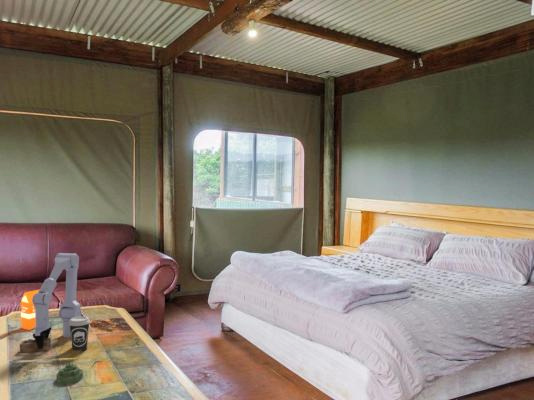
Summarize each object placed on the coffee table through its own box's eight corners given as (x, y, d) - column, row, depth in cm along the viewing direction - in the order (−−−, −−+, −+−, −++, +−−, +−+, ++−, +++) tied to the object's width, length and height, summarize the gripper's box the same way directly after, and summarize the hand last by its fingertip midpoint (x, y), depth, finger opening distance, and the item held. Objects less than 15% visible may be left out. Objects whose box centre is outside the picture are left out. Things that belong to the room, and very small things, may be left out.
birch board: (58, 341, 237) (58, 339, 237) (46, 356, 217) (46, 354, 217) (31, 343, 235) (31, 341, 235) (16, 357, 215) (16, 355, 215)
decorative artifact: (56, 376, 196) (56, 386, 187) (56, 359, 196) (56, 368, 186) (82, 372, 200) (83, 381, 191) (82, 356, 199) (83, 364, 190)
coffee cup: (94, 347, 229) (94, 317, 228) (79, 354, 220) (78, 322, 219) (80, 344, 233) (79, 314, 232) (64, 351, 224) (64, 320, 224)
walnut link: (51, 346, 226) (50, 337, 226) (47, 350, 221) (46, 341, 220) (24, 348, 224) (23, 340, 224) (20, 353, 219) (19, 344, 218)
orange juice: (44, 325, 263) (43, 290, 262) (28, 329, 256) (28, 293, 255) (36, 323, 267) (35, 288, 266) (20, 327, 260) (20, 291, 259)
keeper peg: (32, 349, 223) (32, 338, 223) (31, 351, 221) (31, 339, 221) (28, 350, 223) (28, 338, 222) (27, 351, 221) (27, 339, 221)
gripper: (38, 313, 229) (38, 341, 229) (27, 322, 214) (28, 351, 215) (53, 313, 230) (53, 340, 230) (44, 321, 215) (44, 351, 216)
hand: (42, 346), depth 223 cm, fingers open, 6 cm apart
